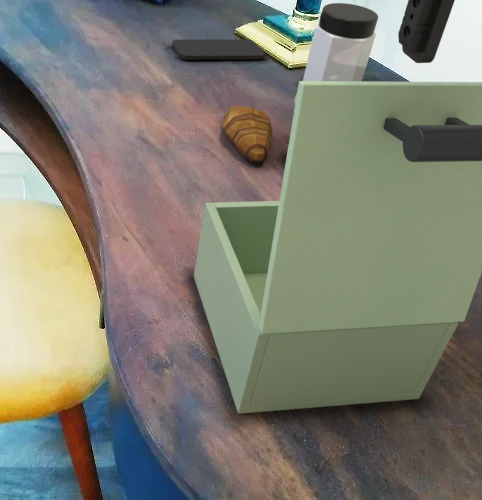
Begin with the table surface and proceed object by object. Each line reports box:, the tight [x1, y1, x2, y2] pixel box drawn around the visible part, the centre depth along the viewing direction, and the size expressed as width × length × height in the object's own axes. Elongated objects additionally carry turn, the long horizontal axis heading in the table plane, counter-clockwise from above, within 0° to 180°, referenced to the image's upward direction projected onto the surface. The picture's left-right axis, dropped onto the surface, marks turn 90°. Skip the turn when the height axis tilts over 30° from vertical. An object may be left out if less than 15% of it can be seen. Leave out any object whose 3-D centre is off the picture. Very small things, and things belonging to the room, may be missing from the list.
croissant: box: [221, 104, 273, 165], centre depth 85 cm, size 14×7×5 cm, turn 7°
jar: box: [302, 2, 379, 81], centre depth 99 cm, size 9×8×12 cm
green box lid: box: [259, 80, 482, 334], centre depth 40 cm, size 17×16×5 cm
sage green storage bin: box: [193, 200, 459, 415], centre depth 56 cm, size 17×16×9 cm
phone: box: [171, 39, 265, 61], centre depth 110 cm, size 7×1×15 cm
